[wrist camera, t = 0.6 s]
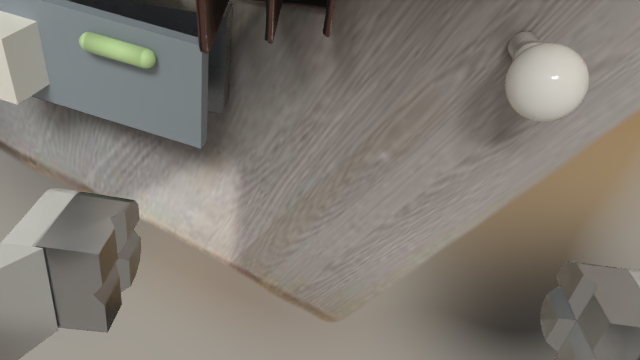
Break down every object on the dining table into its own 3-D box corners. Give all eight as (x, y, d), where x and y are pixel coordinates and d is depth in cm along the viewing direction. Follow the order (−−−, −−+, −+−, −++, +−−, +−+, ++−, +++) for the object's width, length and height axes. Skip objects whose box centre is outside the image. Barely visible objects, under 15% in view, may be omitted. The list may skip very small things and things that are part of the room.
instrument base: (8, -34, 46) (-10, -22, 44) (233, 4, 48) (227, 17, 45) (30, 67, 53) (16, 82, 50) (228, 98, 54) (223, 113, 52)
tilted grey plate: (-10, -22, 44) (-62, -2, 40) (208, 40, 41) (177, 67, 37) (15, 82, 50) (-27, 108, 46) (206, 141, 48) (179, 174, 44)
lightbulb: (483, 18, 47) (513, 76, 39) (557, 1, 46) (604, 57, 38) (488, 78, 51) (516, 143, 43) (556, 64, 50) (598, 128, 42)
